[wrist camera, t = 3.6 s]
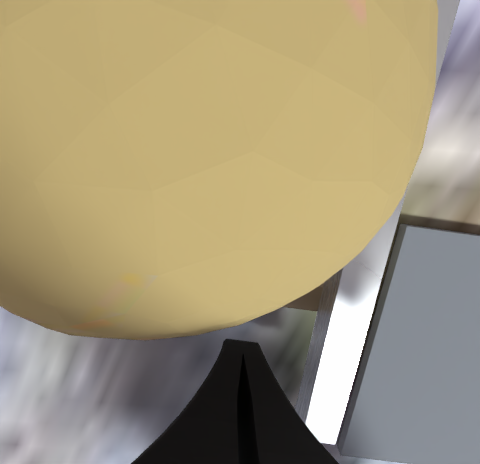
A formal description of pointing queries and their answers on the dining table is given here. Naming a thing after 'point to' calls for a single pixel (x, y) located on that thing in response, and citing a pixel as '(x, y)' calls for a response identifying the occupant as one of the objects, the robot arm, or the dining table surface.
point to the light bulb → (199, 153)
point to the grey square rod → (351, 308)
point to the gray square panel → (421, 356)
